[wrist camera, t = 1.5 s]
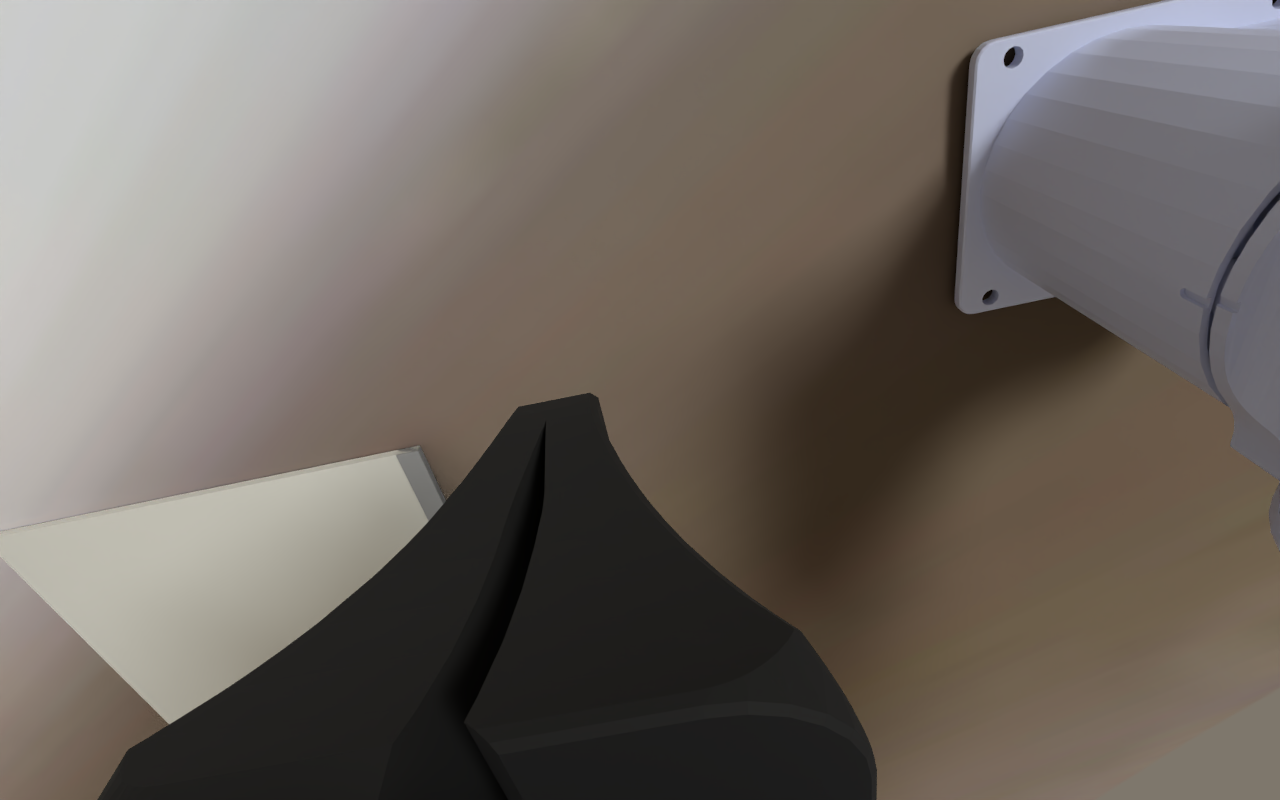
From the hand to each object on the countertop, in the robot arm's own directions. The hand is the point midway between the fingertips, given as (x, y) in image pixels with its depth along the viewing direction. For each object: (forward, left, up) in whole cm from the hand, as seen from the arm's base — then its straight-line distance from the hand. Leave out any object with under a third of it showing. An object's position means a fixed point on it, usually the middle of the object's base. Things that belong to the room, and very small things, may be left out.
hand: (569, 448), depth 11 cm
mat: (+15, +13, -10) cm, 23 cm away
